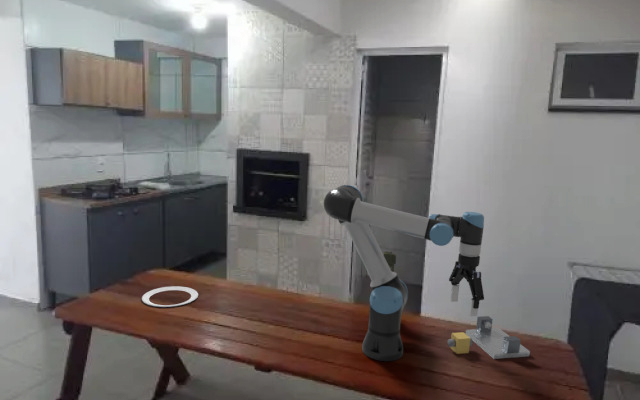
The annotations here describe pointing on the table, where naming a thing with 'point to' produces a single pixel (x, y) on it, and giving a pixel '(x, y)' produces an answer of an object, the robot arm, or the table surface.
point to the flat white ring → (150, 293)
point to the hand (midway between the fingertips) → (463, 308)
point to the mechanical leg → (390, 259)
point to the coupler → (460, 342)
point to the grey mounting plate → (496, 340)
